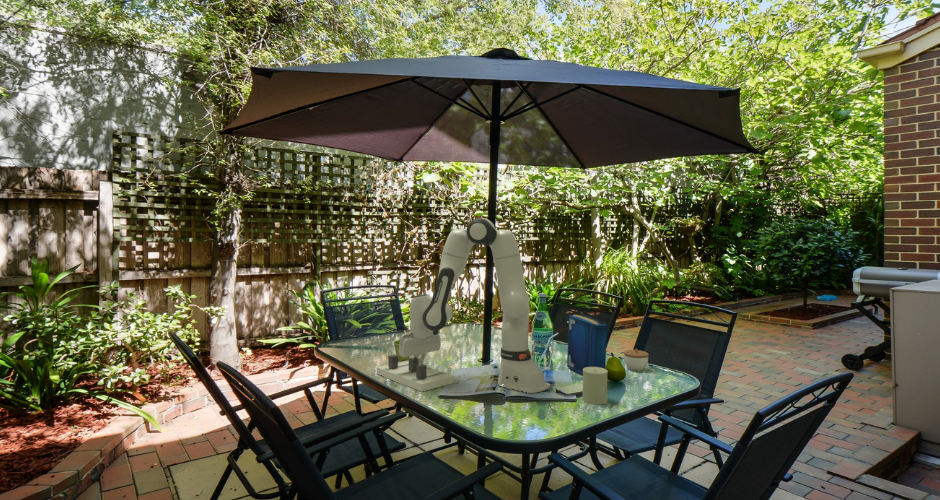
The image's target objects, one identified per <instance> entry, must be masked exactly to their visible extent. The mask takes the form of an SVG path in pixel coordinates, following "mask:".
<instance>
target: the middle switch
mask: <svg viewBox="0 0 940 500" xmlns="http://www.w3.org/2000/svg"><path fill="white" fill-rule="evenodd" d="M419 359H420V358H419ZM419 359H417V358H415V357H411V358H409V360H408V361H409V371H411V372H415V371H416V365H419Z"/></svg>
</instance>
